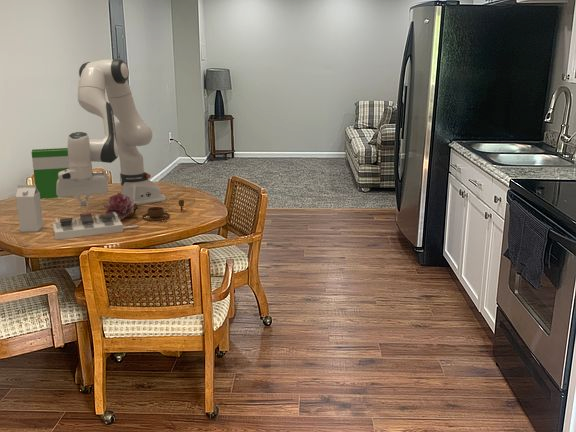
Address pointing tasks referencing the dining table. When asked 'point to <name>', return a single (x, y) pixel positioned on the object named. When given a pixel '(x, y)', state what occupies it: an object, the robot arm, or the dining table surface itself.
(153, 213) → the place setting
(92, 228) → the power strip
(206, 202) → the dining table surface
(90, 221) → the rocker middle
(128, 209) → the flower
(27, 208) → the milk carton
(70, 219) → the rocker far end
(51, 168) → the hardback book
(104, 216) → the rocker near arm
